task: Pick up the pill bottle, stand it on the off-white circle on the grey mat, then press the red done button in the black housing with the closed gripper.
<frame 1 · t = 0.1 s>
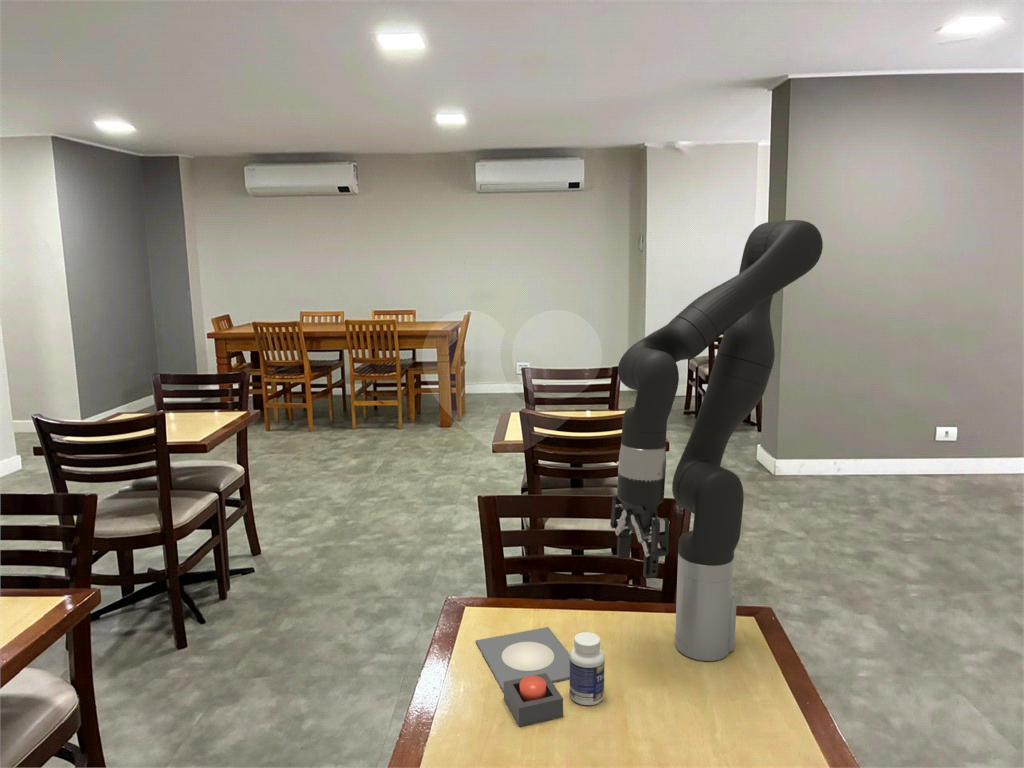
hand: (636, 566, 116), 17 cm above the table, tool pointing down, fingers open, 8 cm apart
done button: (532, 689, 106), point 3 cm above the table, slide at 0.0 cm
grey mat: (527, 658, 120), on the table
pill bottle: (586, 697, 110), on the table
button housing: (532, 707, 107), on the table
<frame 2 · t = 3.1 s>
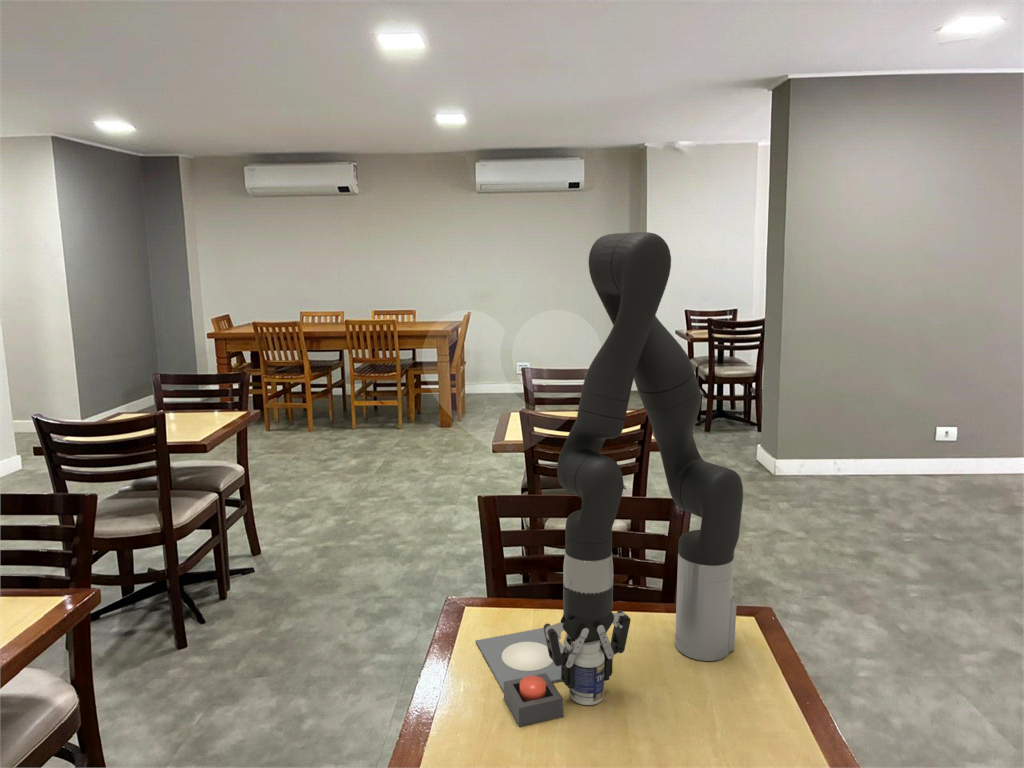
hand: (586, 681, 109), 2 cm above the table, tool pointing down, fingers closed on pill bottle, 5 cm apart
pill bottle: (586, 697, 110), on the table, touching gripper
everything else where it was.
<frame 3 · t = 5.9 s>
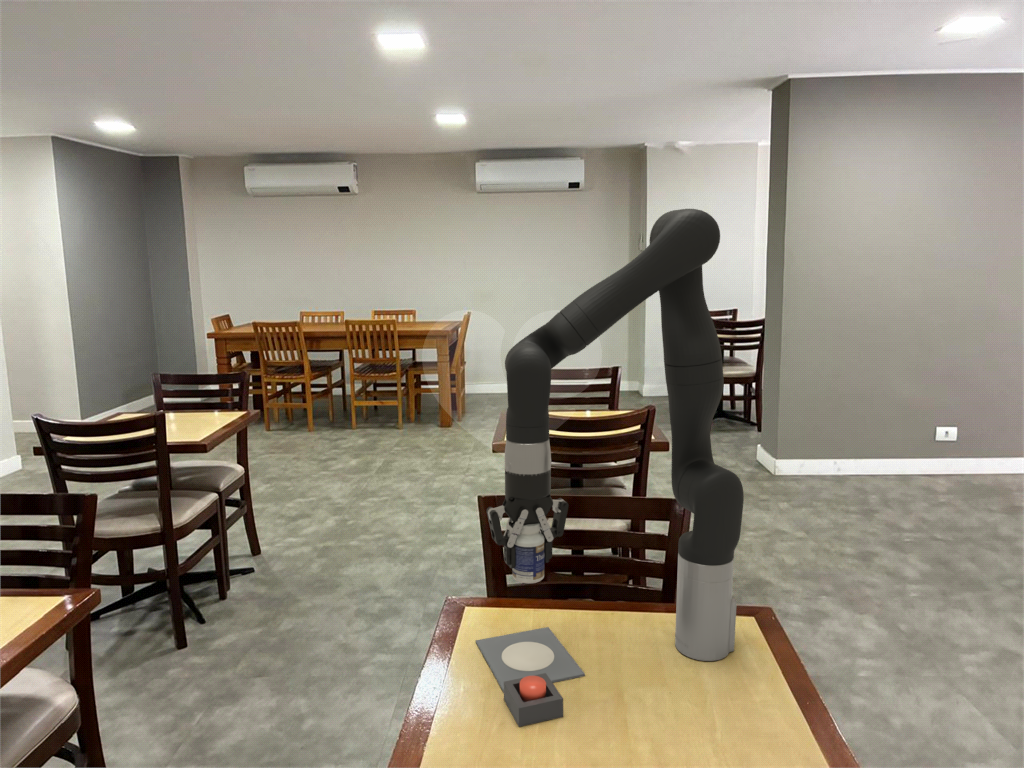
hand: (528, 563, 117), 17 cm above the table, tool pointing down, fingers closed on pill bottle, 5 cm apart
pill bottle: (528, 578, 118), point 15 cm above the table, touching gripper
everything else where it was.
when the fingers open (4 cm above the table, at t = 8.8 s): pill bottle drops 1 cm, resting on grey mat.
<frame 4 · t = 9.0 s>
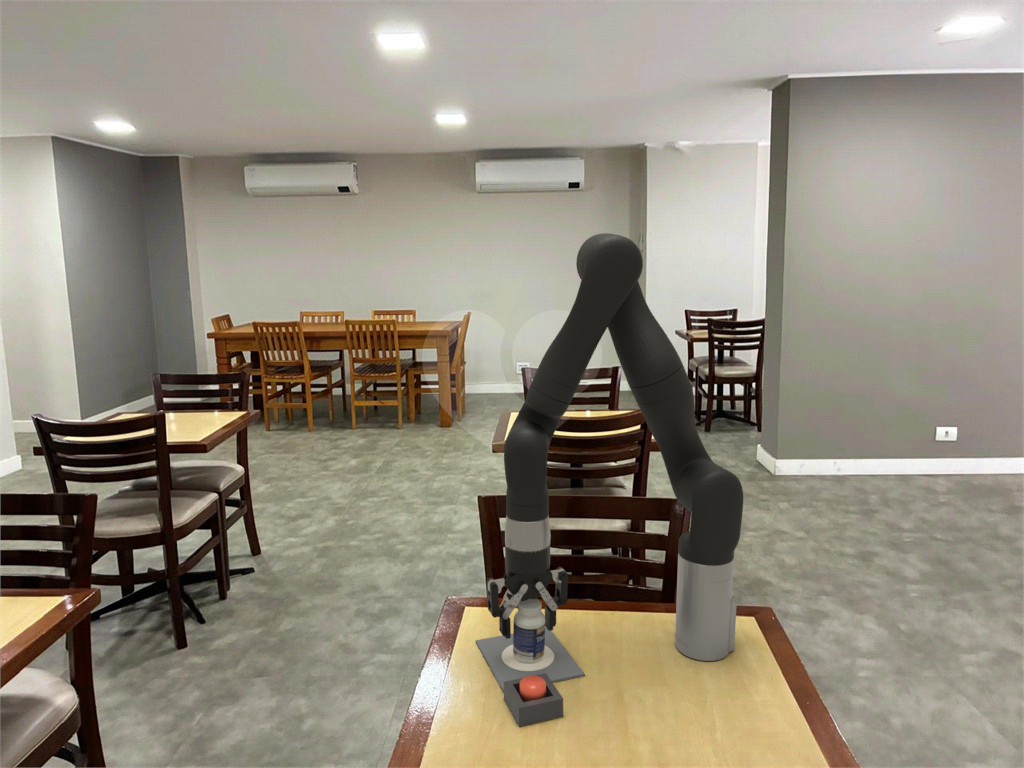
hand: (527, 632, 119), 5 cm above the table, tool pointing down, fingers open, 7 cm apart
pill bottle: (528, 655, 120), resting on grey mat
everything else where it was.
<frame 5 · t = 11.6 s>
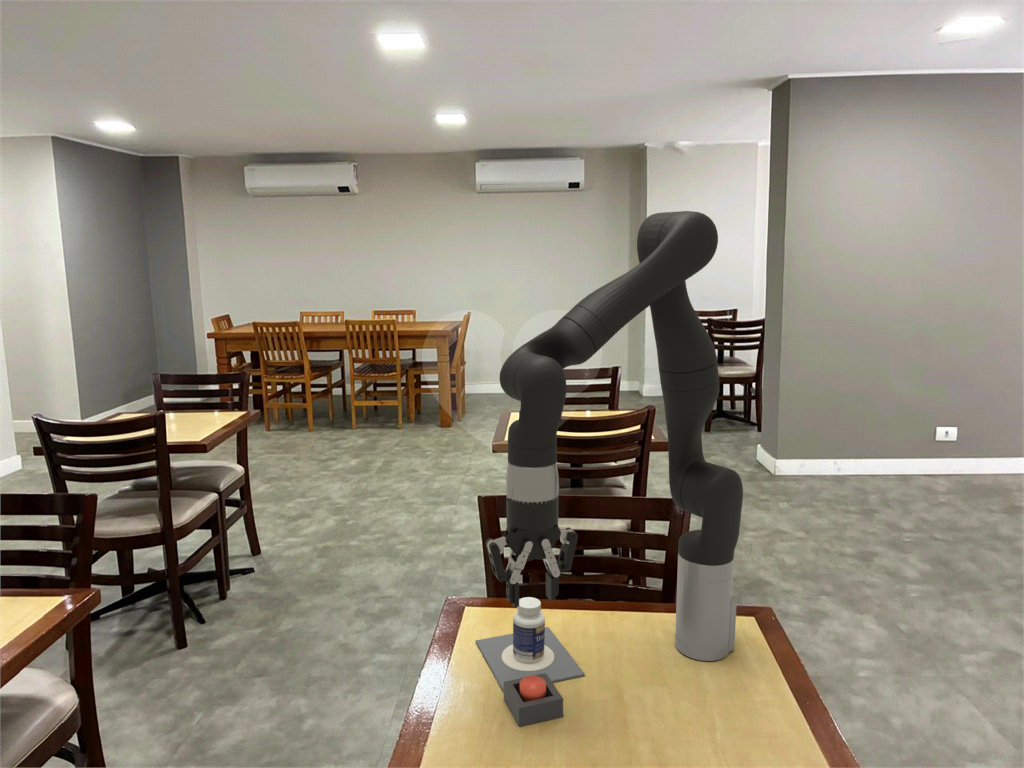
hand: (532, 600, 104), 17 cm above the table, tool pointing down, fingers open, 5 cm apart
nothing on the table moved.
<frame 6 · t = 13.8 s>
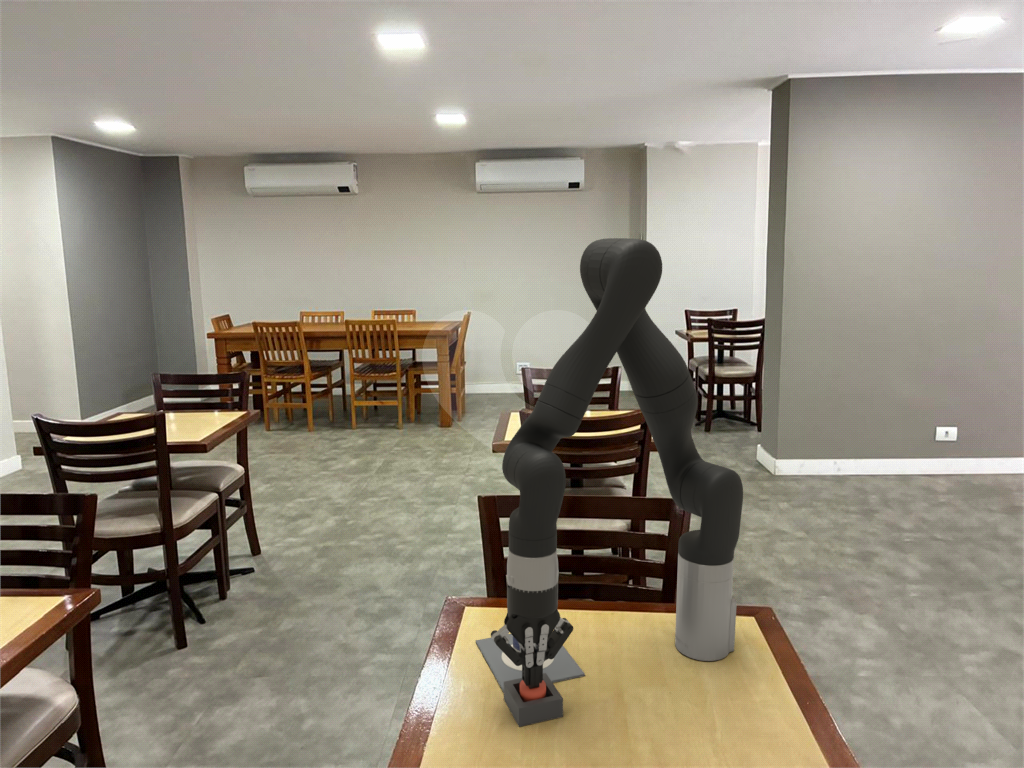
hand: (532, 685, 106), 4 cm above the table, tool pointing down, fingers closed
done button: (532, 690, 106), point 3 cm above the table, slide at 0.3 cm, touching gripper
everything else where it was.
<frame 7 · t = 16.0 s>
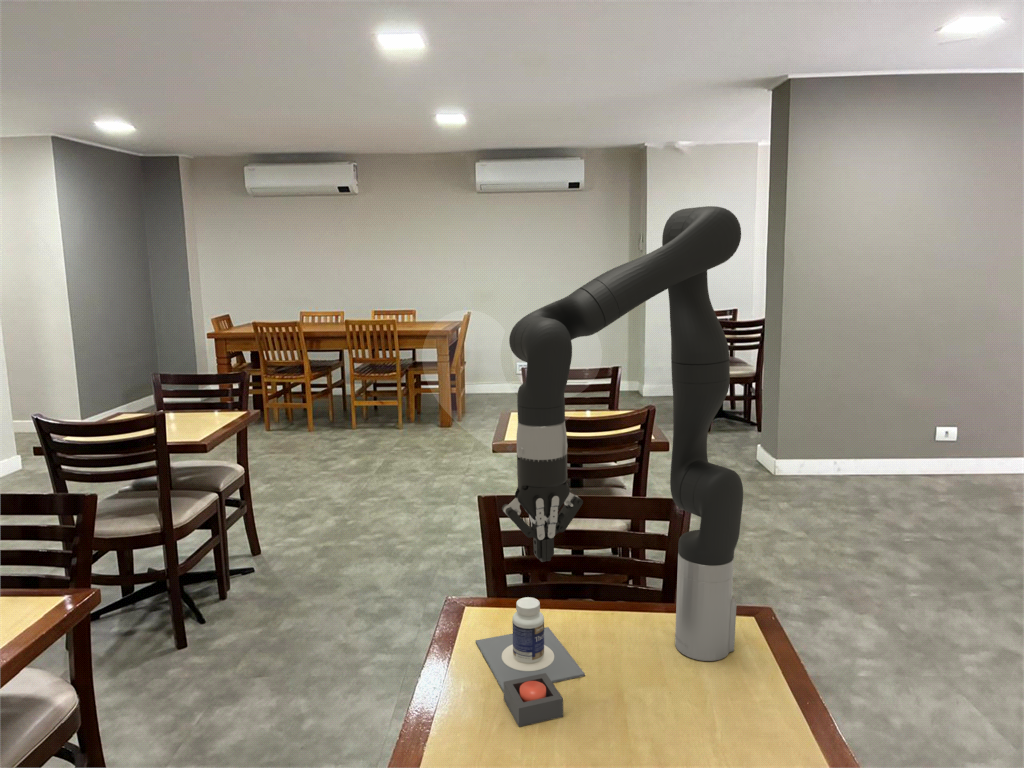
hand: (543, 559, 108), 22 cm above the table, tool pointing down, fingers closed
done button: (532, 694, 107), point 2 cm above the table, slide at 0.9 cm
everything else where it was.
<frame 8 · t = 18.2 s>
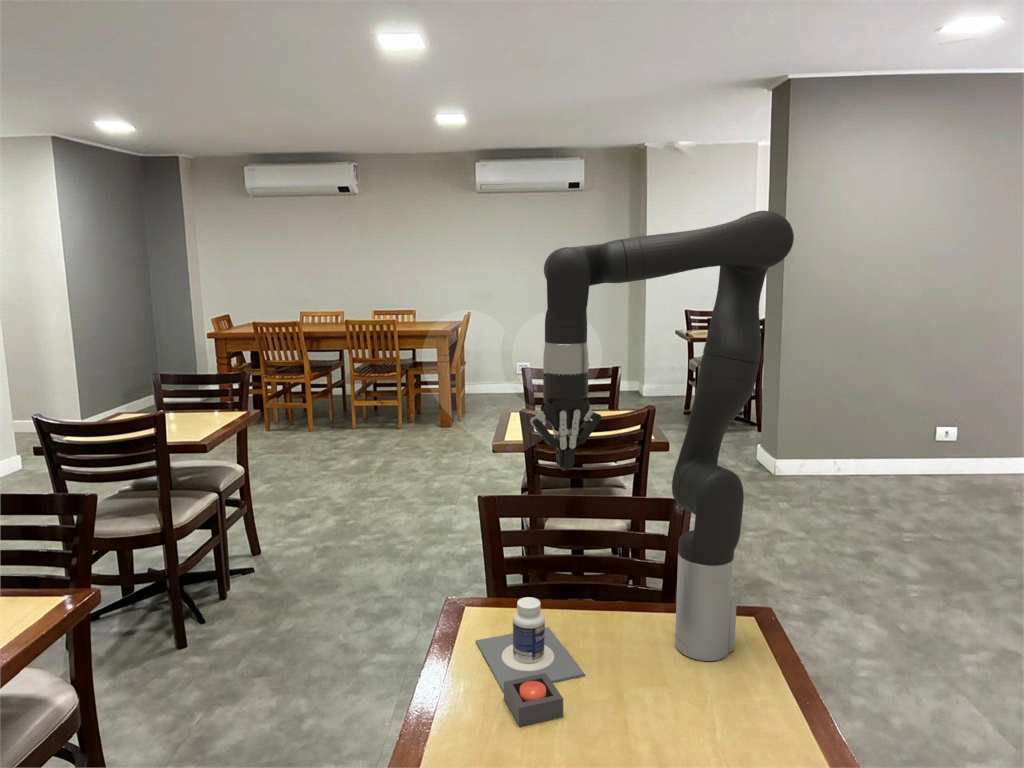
hand: (565, 468, 120), 32 cm above the table, tool pointing down, fingers closed
nothing on the table moved.
at the end: pill bottle 0.1 cm off-centre on the grey mat, point 0.3 cm above the grey mat's base; pill bottle tilted 1°; done button slide at 0.9 cm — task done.
